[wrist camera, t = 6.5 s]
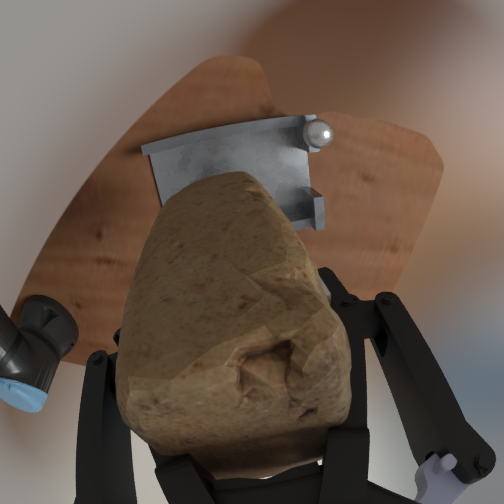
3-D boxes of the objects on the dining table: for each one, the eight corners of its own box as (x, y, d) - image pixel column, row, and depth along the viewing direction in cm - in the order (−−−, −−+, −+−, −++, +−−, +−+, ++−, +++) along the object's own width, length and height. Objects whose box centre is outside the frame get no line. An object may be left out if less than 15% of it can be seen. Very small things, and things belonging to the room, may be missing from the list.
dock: (174, 243, 44) (166, 275, 36) (147, 143, 36) (129, 150, 28) (318, 214, 46) (343, 238, 37) (309, 114, 38) (336, 114, 29)
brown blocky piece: (166, 180, 22) (59, 392, 4) (253, 159, 22) (409, 322, 5) (199, 285, 27) (207, 497, 9) (272, 268, 27) (352, 466, 10)
